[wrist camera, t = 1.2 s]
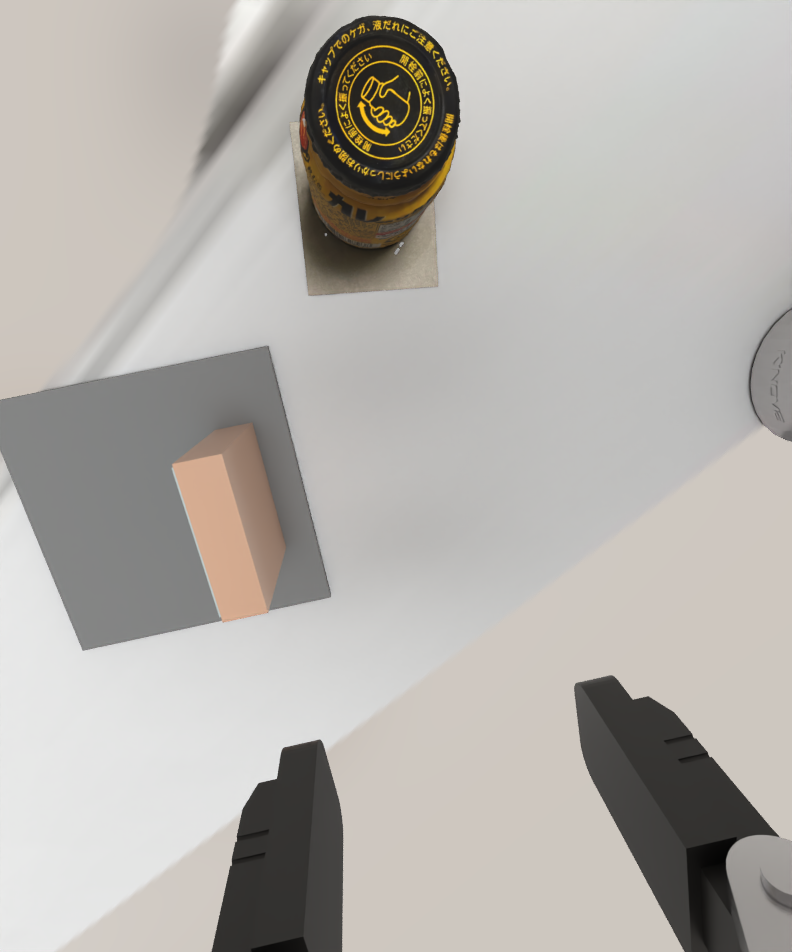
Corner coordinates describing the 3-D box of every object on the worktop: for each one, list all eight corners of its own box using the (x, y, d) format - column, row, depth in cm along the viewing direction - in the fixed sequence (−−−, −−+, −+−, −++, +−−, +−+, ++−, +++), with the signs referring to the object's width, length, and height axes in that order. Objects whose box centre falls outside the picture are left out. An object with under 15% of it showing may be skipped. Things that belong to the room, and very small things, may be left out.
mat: (268, 346, 31) (267, 346, 30) (330, 594, 35) (330, 597, 35) (-15, 402, 30) (-19, 403, 30) (85, 647, 35) (82, 650, 34)
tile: (252, 422, 31) (221, 453, 24) (286, 547, 34) (268, 612, 26) (212, 430, 31) (168, 464, 24) (248, 554, 34) (219, 623, 26)
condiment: (429, 116, 28) (485, -25, 17) (437, 286, 31) (491, 264, 19) (289, 123, 28) (249, -17, 16) (308, 295, 30) (285, 278, 19)
